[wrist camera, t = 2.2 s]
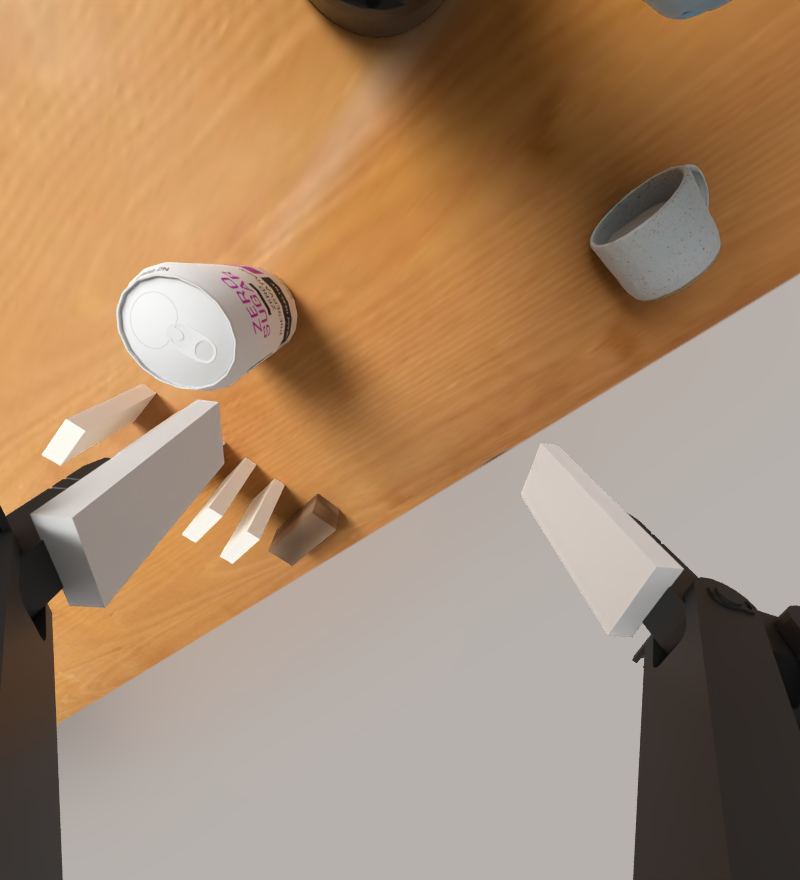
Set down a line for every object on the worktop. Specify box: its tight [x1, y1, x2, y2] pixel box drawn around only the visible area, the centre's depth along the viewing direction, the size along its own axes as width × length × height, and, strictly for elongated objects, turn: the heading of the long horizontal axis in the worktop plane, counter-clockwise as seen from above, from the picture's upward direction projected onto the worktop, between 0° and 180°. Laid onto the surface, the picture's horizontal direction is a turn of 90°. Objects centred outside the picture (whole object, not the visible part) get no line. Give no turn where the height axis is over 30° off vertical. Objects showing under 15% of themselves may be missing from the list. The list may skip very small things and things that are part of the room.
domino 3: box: [220, 478, 285, 564], centre depth 40 cm, size 2×5×10 cm, turn 133°
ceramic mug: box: [590, 164, 721, 301], centre depth 29 cm, size 11×8×8 cm
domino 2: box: [182, 457, 256, 543], centre depth 38 cm, size 2×5×10 cm, turn 134°
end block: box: [268, 494, 340, 566], centre depth 45 cm, size 4×9×4 cm, turn 134°
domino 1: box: [42, 383, 156, 466], centre depth 33 cm, size 2×5×10 cm, turn 134°
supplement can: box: [116, 262, 298, 391], centre depth 27 cm, size 8×8×15 cm
